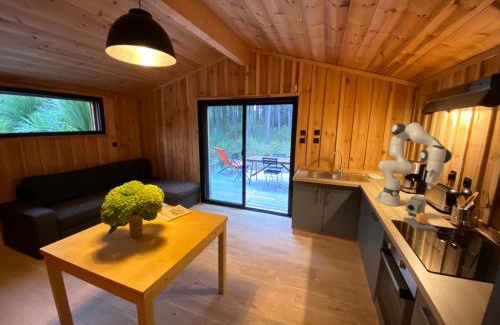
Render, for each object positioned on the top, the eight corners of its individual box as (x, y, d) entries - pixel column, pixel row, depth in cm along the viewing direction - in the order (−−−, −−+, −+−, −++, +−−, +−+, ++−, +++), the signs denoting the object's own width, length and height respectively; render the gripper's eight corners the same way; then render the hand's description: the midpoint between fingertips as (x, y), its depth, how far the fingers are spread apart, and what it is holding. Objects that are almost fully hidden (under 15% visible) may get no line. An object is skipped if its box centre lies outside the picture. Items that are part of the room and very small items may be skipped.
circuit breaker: (403, 215, 171) (406, 197, 168) (413, 212, 177) (416, 195, 175) (414, 219, 164) (417, 200, 162) (423, 216, 171) (427, 198, 168)
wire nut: (415, 219, 156) (417, 211, 155) (423, 220, 155) (425, 212, 154) (418, 222, 151) (420, 214, 150) (427, 223, 150) (428, 215, 149)
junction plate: (403, 219, 163) (404, 210, 161) (422, 221, 161) (424, 212, 160) (416, 229, 147) (418, 220, 146) (437, 232, 145) (439, 222, 144)
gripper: (436, 171, 144) (432, 191, 147) (443, 167, 157) (439, 186, 160) (424, 169, 149) (421, 188, 152) (432, 166, 162) (428, 184, 165)
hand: (430, 187), depth 156 cm, fingers open, 8 cm apart
